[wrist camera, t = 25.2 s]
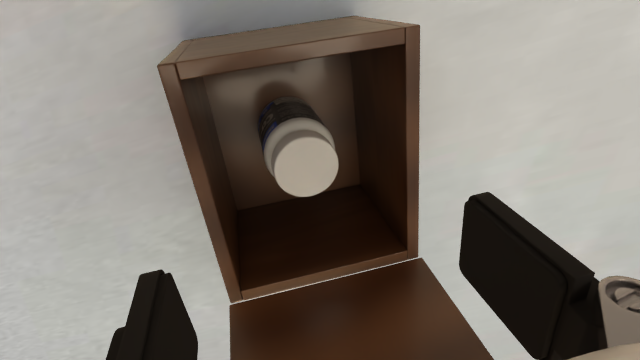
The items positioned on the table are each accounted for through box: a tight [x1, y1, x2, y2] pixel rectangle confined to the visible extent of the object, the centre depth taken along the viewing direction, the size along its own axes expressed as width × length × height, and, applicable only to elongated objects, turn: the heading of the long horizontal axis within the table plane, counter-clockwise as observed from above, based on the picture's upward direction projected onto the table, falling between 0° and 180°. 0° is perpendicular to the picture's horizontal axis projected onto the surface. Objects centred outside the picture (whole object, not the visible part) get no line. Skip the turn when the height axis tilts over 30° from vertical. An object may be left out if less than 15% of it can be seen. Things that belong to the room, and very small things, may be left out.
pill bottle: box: [258, 97, 339, 197], centre depth 26 cm, size 5×5×8 cm
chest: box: [157, 16, 420, 303], centre depth 25 cm, size 15×13×11 cm
